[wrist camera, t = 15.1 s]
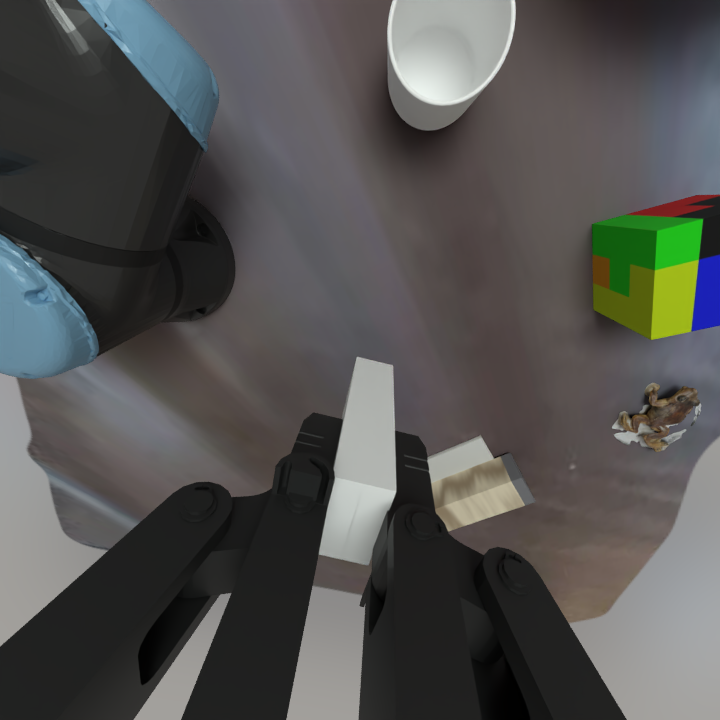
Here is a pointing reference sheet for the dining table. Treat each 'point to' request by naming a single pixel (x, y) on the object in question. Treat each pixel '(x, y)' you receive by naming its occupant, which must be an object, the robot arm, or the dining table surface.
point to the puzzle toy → (660, 267)
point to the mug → (444, 55)
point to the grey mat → (458, 458)
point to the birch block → (481, 492)
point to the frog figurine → (657, 418)
